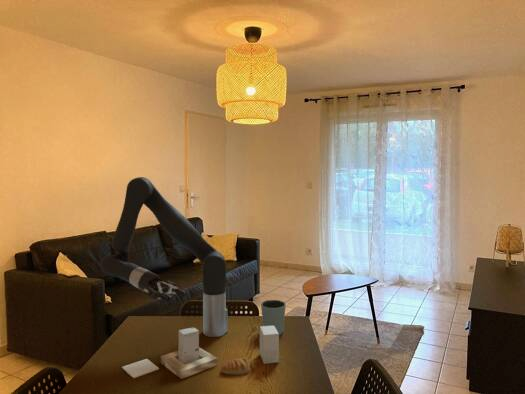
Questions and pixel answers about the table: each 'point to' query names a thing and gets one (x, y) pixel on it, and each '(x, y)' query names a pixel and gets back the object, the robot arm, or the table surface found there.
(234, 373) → the pastry
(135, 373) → the white pad
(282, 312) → the grey green cup
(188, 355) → the skincare box
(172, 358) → the socket block
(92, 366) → the table surface
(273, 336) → the small box
